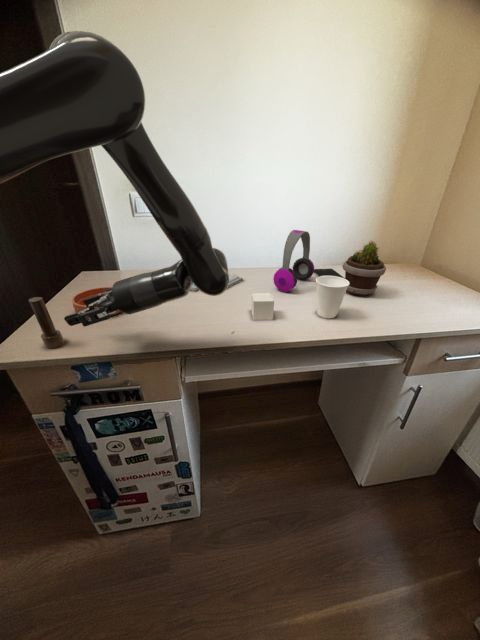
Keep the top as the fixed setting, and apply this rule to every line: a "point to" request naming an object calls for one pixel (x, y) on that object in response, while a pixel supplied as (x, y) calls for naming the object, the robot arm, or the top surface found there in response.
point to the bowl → (83, 295)
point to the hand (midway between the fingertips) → (77, 312)
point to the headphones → (302, 267)
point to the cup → (330, 295)
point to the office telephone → (232, 280)
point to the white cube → (262, 306)
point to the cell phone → (327, 272)
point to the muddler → (46, 324)
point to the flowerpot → (364, 271)
